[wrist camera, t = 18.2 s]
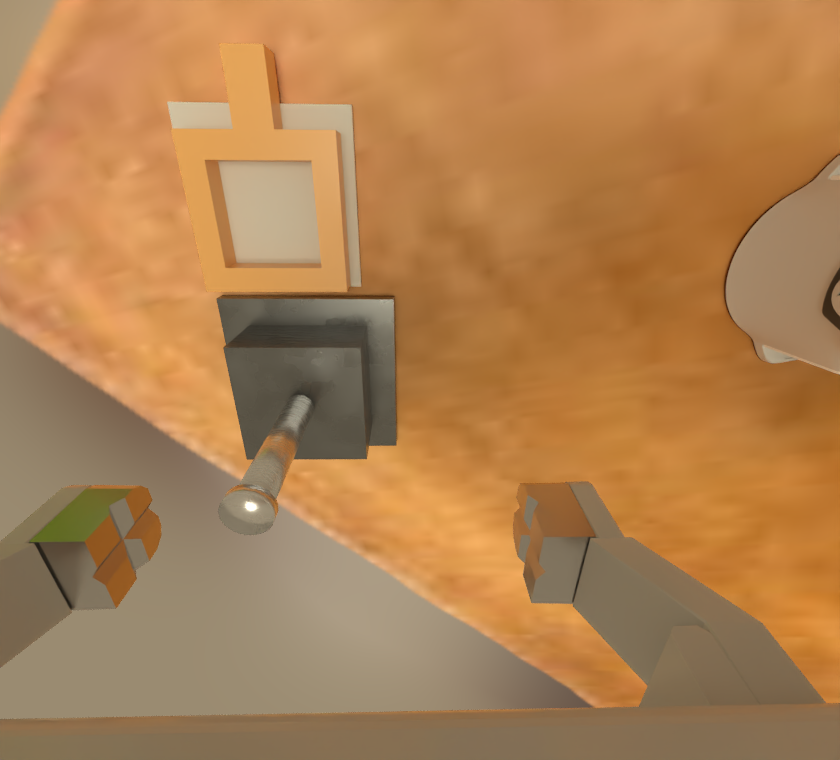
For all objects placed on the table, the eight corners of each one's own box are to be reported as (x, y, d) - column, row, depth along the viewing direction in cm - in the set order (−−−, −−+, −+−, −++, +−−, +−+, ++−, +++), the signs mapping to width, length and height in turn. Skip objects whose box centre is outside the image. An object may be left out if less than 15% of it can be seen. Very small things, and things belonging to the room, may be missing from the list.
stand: (394, 296, 39) (379, 393, 21) (396, 439, 45) (386, 604, 28) (222, 295, 38) (55, 393, 20) (250, 439, 45) (145, 607, 27)
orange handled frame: (335, 54, 30) (329, 44, 28) (350, 285, 38) (347, 292, 35) (170, 52, 30) (151, 42, 28) (218, 285, 37) (206, 291, 35)
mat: (352, 105, 32) (351, 104, 32) (361, 285, 38) (360, 286, 38) (170, 102, 32) (167, 101, 31) (208, 284, 38) (206, 285, 37)
